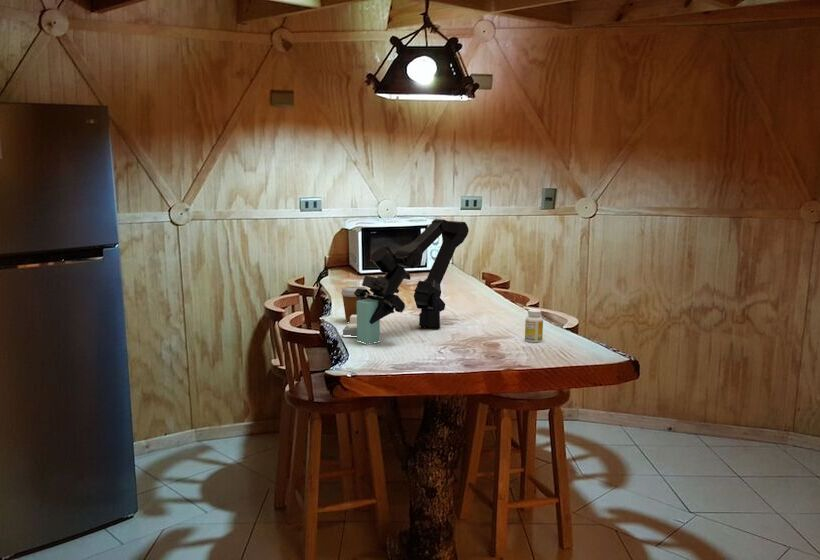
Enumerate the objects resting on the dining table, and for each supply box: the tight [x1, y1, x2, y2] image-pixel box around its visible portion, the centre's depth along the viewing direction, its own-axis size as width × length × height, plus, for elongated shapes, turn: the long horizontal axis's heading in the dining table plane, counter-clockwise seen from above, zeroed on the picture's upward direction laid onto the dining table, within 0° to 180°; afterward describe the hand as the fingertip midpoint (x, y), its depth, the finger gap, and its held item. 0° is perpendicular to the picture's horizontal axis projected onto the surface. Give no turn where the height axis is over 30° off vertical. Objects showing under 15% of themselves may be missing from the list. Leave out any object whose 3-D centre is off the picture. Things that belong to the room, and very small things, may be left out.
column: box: [356, 299, 381, 344], centre depth 192 cm, size 5×5×13 cm
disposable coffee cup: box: [340, 285, 368, 322], centre depth 219 cm, size 10×10×12 cm
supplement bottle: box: [524, 308, 544, 343], centre depth 193 cm, size 5×5×10 cm
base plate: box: [342, 315, 357, 336], centre depth 205 cm, size 8×14×4 cm, turn 175°
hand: (364, 321), depth 191 cm, fingers closed on column, 5 cm apart
